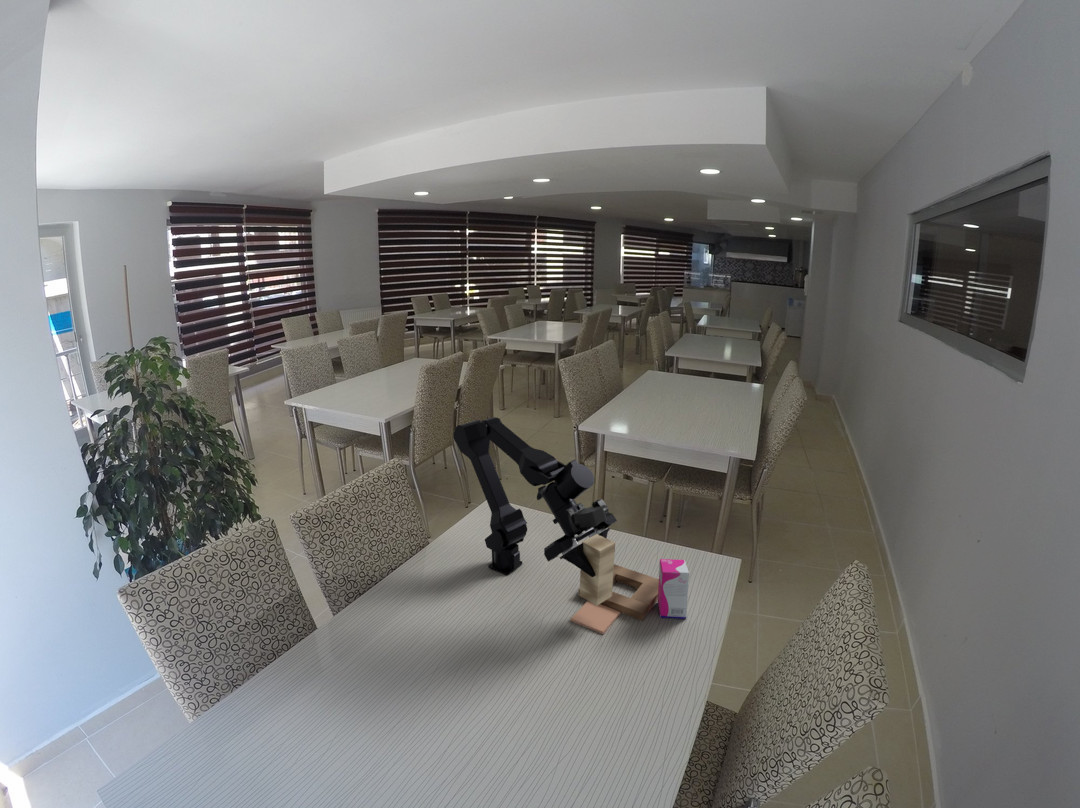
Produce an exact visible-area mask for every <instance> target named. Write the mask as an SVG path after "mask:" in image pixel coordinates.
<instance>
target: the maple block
mask: <svg viewBox="0 0 1080 808" xmlns="http://www.w3.org/2000/svg"><path fill="white" fill-rule="evenodd" d="M582 543H583V551H584V554H585V555H586V557H587V559H588V561H589V562H590V564H591V566H592V568H593V570H594V572H595V574H596V575H595V576H594V577H591V576H589V575H588V574H587V573H585V572H584V571H582V570H581V569H580V574H579V577H580V578H579V588H580V592H579V596H581V597H583V598H585V599H584V600H586V601H590V602H591V603H593V604H595V605H599V604H601V603H602V602H604V601H605V600H607V599H608V598H610V597H611V596H612V592H613V585H614V584H613V570H614V564H615V555H616V554H615V553H616V541H612V540H611V539H608V538H607V539H606V538H604V537H602V536H600V535H598V534H596V535H594V536H592V537H590V538H589V537H588V538H587V539H585V540H583V541H581V544H582ZM581 597H580V598H581ZM583 598H582V599H583Z"/></svg>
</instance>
